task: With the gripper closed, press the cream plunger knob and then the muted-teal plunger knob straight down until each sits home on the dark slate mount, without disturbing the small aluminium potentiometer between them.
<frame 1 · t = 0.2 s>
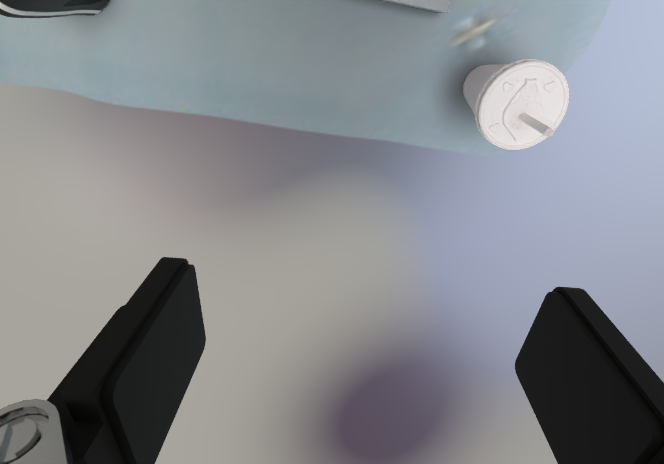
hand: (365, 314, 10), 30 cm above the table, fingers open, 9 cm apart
smoothie: (482, 85, 35), on the table
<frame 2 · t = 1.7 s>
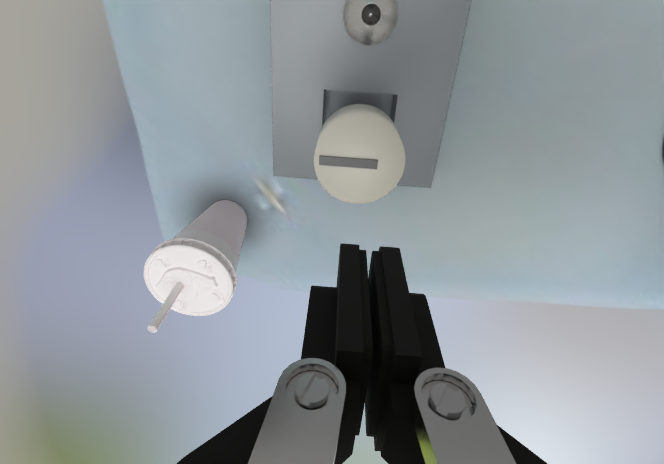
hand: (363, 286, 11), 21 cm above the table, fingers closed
smoothie: (228, 217, 34), on the table
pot: (368, 14, 23), point 3 cm above the table, touching mount
knob 2: (358, 147, 23), point 8 cm above the table, slide at 3.5 cm
mount: (366, 14, 26), on the table
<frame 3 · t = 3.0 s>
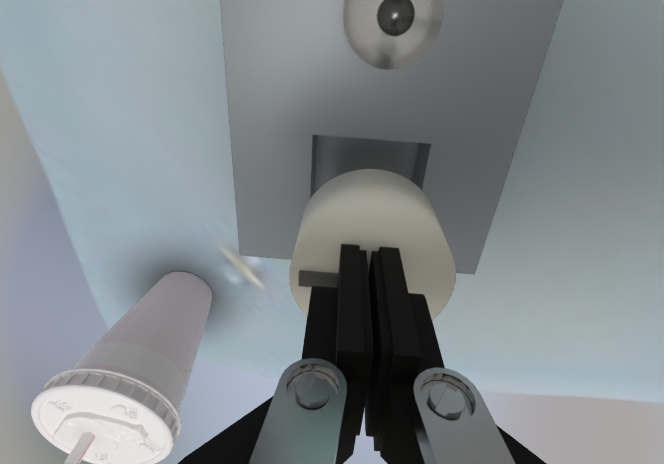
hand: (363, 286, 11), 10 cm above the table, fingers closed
smoothie: (186, 291, 25), on the table
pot: (386, 15, 13), point 3 cm above the table, touching mount
knob 2: (368, 237, 14), point 7 cm above the table, slide at 3.2 cm, touching gripper
mount: (380, 14, 16), on the table
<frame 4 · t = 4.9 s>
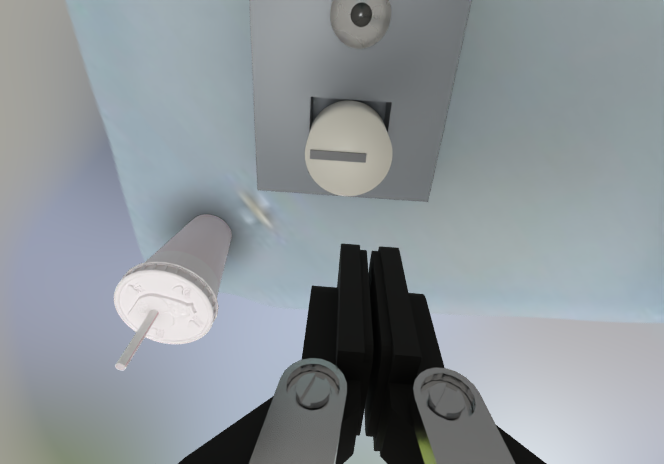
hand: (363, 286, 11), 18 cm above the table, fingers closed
smoothie: (211, 232, 32), on the table
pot: (358, 14, 20), point 3 cm above the table, touching mount
knob 2: (347, 142, 23), point 4 cm above the table, slide at -0.1 cm
mount: (356, 14, 23), on the table
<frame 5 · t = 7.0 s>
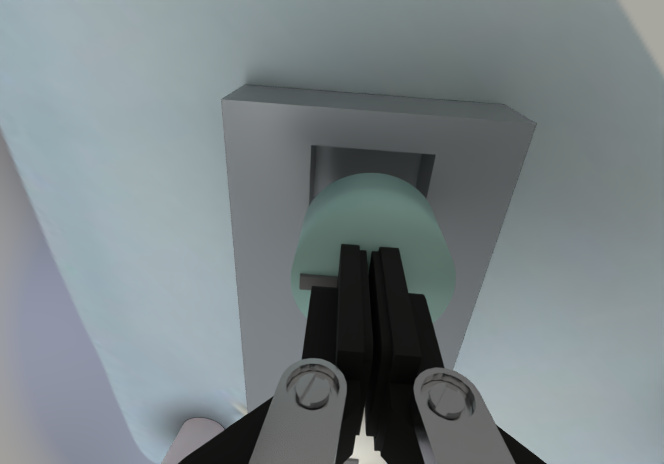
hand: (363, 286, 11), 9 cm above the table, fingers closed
smoothie: (205, 428, 32), on the table
knob 2: (341, 415, 23), point 4 cm above the table, slide at -0.1 cm
knob 1: (368, 240, 14), point 6 cm above the table, slide at 2.2 cm, touching gripper
mount: (352, 283, 23), on the table
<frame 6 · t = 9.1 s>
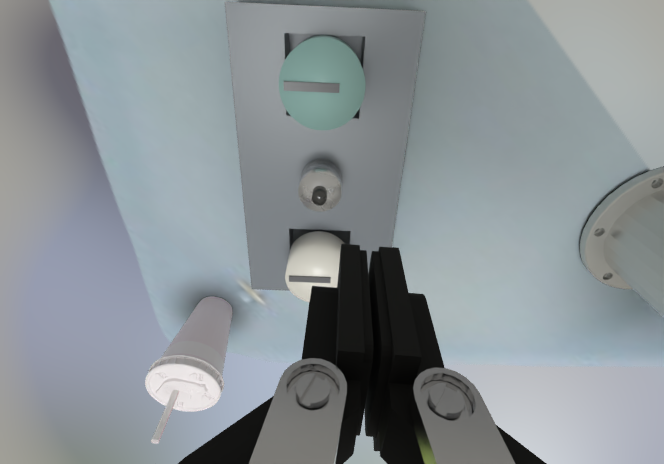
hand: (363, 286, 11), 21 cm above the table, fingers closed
smoothie: (215, 308, 40), on the table
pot: (321, 178, 28), point 3 cm above the table, touching mount
knob 2: (318, 259, 31), point 4 cm above the table, slide at -0.1 cm
knob 1: (323, 79, 24), point 4 cm above the table, slide at -0.1 cm
mount: (322, 161, 31), on the table
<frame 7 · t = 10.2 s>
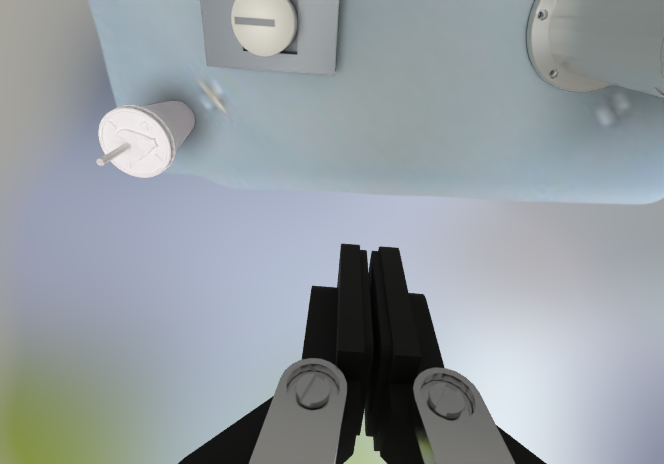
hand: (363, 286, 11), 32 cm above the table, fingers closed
smoothie: (179, 117, 41), on the table
knob 2: (268, 21, 32), point 4 cm above the table, slide at -0.1 cm
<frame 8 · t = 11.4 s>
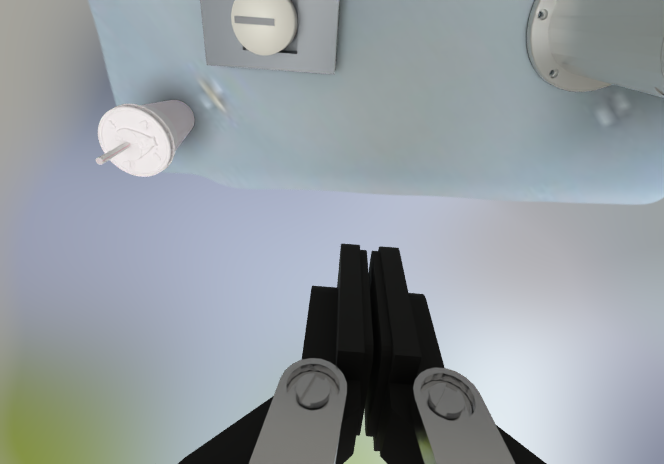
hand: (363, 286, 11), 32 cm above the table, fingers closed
smoothie: (178, 116, 41), on the table
knob 2: (268, 20, 32), point 4 cm above the table, slide at -0.1 cm
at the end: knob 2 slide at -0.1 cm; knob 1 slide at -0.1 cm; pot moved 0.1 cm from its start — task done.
